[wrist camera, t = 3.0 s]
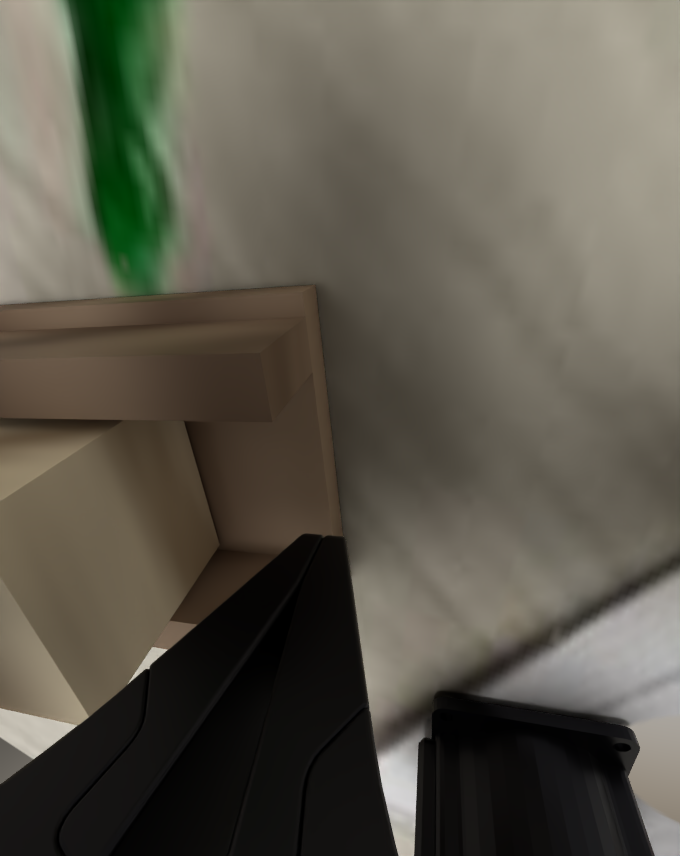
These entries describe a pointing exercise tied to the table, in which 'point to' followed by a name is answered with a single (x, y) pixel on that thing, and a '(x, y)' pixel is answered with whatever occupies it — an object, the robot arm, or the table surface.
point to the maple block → (92, 555)
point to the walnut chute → (197, 407)
